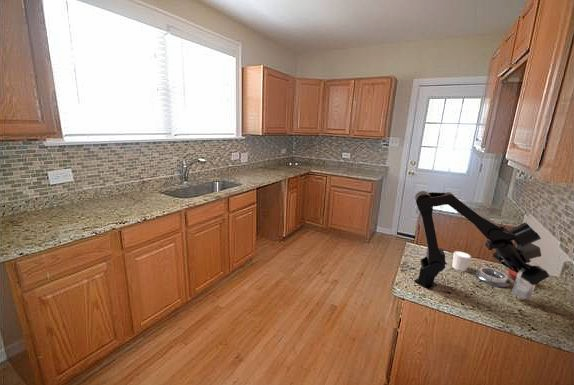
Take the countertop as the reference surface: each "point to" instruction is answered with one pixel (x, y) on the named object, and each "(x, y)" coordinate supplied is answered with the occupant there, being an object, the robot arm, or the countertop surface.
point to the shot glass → (461, 260)
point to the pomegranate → (512, 274)
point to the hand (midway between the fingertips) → (530, 279)
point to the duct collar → (492, 277)
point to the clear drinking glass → (523, 284)
